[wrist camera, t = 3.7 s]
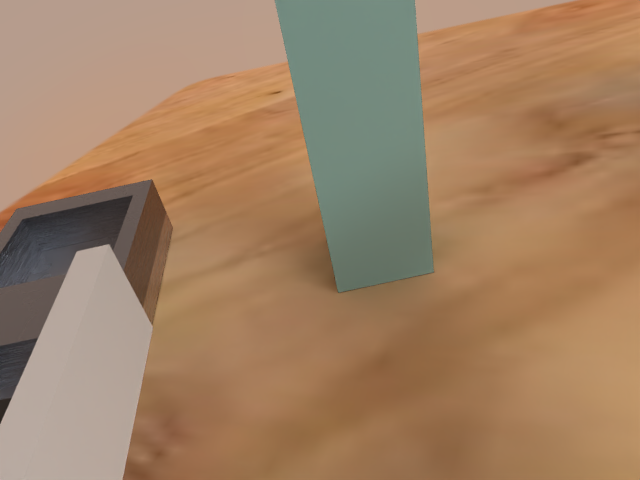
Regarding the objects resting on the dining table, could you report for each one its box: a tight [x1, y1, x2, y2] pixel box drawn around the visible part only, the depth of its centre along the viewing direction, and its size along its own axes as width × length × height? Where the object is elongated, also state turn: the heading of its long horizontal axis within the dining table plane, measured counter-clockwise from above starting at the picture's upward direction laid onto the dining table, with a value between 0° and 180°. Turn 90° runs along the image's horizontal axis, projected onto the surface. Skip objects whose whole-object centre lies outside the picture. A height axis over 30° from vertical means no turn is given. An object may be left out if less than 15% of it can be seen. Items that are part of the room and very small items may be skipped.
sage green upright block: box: [275, 0, 434, 293], centre depth 20 cm, size 4×4×12 cm
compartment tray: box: [0, 179, 173, 400], centre depth 20 cm, size 17×7×3 cm, turn 7°
